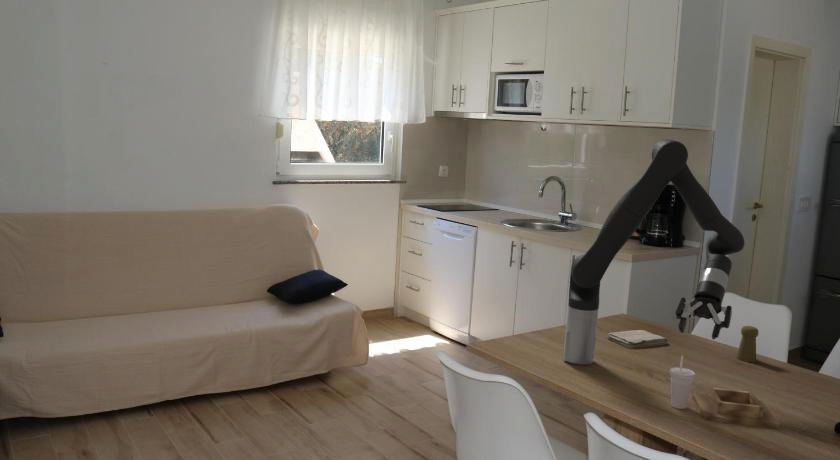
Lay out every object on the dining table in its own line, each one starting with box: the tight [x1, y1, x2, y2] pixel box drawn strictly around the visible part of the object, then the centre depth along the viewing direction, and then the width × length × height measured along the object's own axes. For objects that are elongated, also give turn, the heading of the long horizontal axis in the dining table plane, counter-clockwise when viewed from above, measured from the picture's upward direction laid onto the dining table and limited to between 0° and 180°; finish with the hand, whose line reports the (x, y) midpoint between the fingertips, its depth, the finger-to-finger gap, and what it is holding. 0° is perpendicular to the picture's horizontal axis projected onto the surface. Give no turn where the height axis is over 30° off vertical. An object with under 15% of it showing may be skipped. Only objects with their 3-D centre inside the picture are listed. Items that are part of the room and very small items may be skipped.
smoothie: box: [669, 355, 696, 410], centre depth 193 cm, size 6×6×14 cm
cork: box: [735, 325, 759, 363], centre depth 237 cm, size 6×6×11 cm
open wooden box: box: [691, 387, 781, 430], centre depth 192 cm, size 18×16×4 cm
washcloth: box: [606, 329, 668, 349], centre depth 251 cm, size 12×18×3 cm, turn 118°
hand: (697, 334), depth 201 cm, fingers open, 8 cm apart
